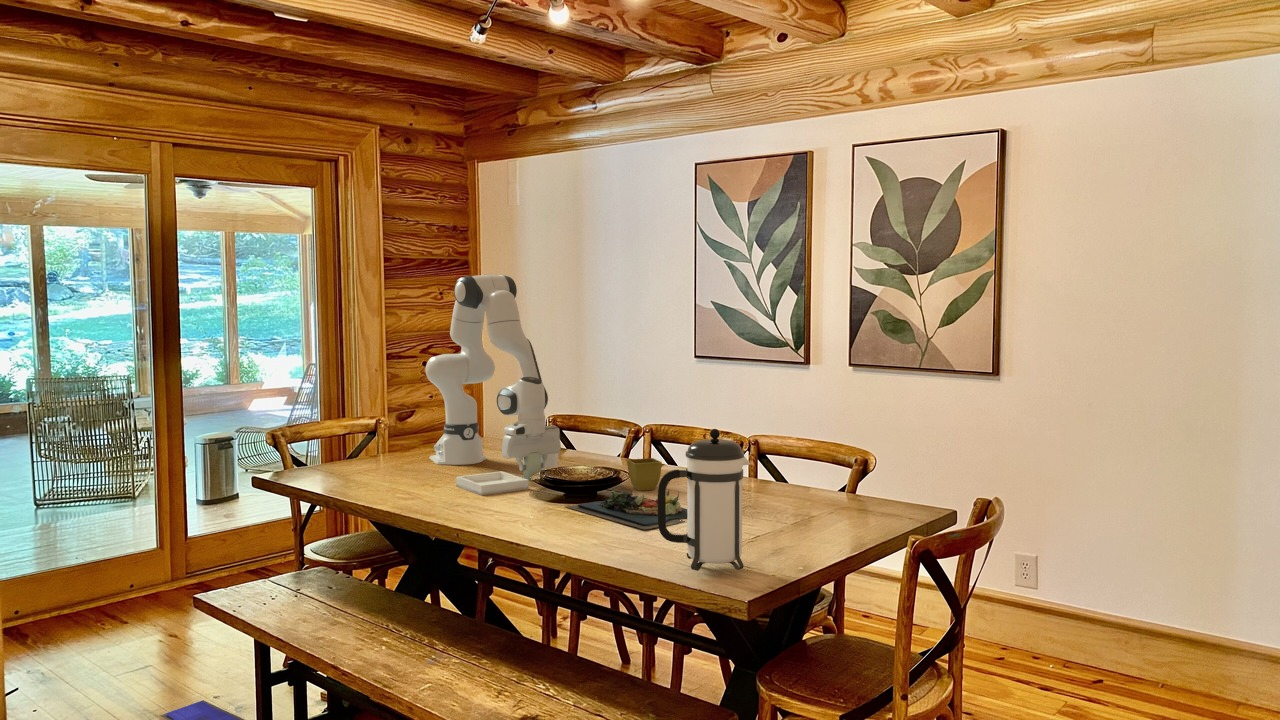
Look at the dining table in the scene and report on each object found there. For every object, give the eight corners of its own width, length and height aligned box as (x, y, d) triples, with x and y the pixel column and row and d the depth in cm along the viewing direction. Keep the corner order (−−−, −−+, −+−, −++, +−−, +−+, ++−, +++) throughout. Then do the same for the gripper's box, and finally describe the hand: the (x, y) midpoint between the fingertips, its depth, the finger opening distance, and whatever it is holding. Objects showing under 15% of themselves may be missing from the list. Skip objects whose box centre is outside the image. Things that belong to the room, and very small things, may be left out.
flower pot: (626, 487, 293) (626, 459, 293) (653, 485, 296) (653, 457, 295) (635, 493, 285) (635, 463, 284) (662, 491, 288) (662, 462, 287)
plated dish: (721, 515, 259) (721, 489, 258) (645, 532, 240) (645, 503, 240) (636, 496, 285) (636, 472, 284) (562, 509, 266) (562, 484, 266)
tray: (456, 486, 296) (456, 476, 296) (501, 480, 305) (501, 471, 305) (481, 495, 281) (481, 485, 281) (528, 489, 291) (528, 479, 290)
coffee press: (709, 550, 219) (709, 422, 217) (762, 564, 207) (763, 428, 205) (655, 564, 207) (655, 429, 205) (709, 580, 195) (709, 436, 194)
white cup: (557, 472, 319) (557, 443, 319) (534, 472, 319) (534, 443, 319) (560, 468, 327) (559, 440, 326) (537, 468, 327) (537, 440, 327)
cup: (520, 478, 308) (520, 451, 307) (535, 477, 311) (535, 449, 311) (528, 481, 303) (528, 453, 303) (544, 479, 307) (543, 452, 306)
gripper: (554, 423, 315) (554, 464, 316) (499, 428, 303) (499, 471, 304) (564, 425, 310) (564, 467, 311) (508, 430, 298) (509, 473, 299)
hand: (532, 469), depth 307 cm, fingers closed on cup, 6 cm apart
